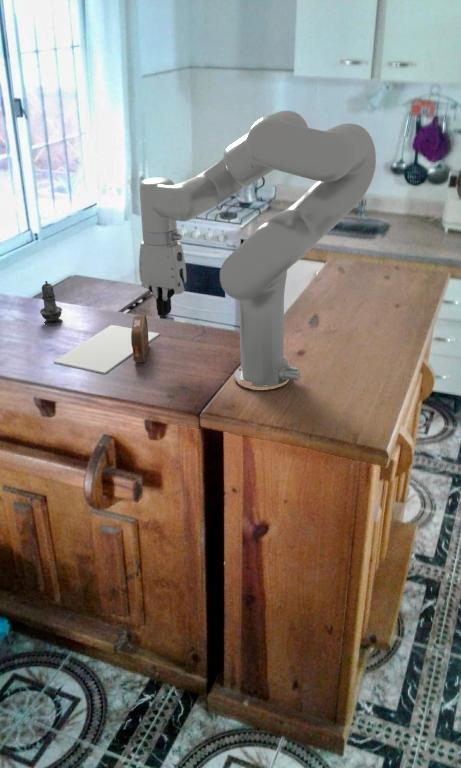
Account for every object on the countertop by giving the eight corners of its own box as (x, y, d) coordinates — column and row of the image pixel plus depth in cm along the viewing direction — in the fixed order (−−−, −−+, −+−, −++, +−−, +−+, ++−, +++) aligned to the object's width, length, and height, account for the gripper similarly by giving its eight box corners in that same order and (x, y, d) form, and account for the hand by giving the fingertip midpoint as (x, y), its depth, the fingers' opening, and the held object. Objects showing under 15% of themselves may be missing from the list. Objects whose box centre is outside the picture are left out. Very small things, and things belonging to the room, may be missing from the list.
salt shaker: (67, 323, 192) (60, 281, 186) (46, 328, 189) (39, 286, 184) (59, 316, 196) (52, 275, 191) (38, 321, 193) (31, 280, 188)
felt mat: (159, 334, 183) (159, 333, 183) (105, 373, 164) (105, 372, 164) (111, 326, 189) (111, 324, 189) (53, 362, 170) (53, 361, 170)
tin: (144, 368, 166) (143, 335, 162) (131, 368, 166) (129, 335, 162) (149, 340, 179) (148, 309, 175) (136, 340, 179) (135, 309, 175)
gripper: (198, 236, 155) (200, 313, 164) (140, 228, 161) (145, 303, 170) (180, 245, 149) (184, 325, 158) (121, 236, 155) (128, 314, 164)
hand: (164, 313), depth 164 cm, fingers closed
